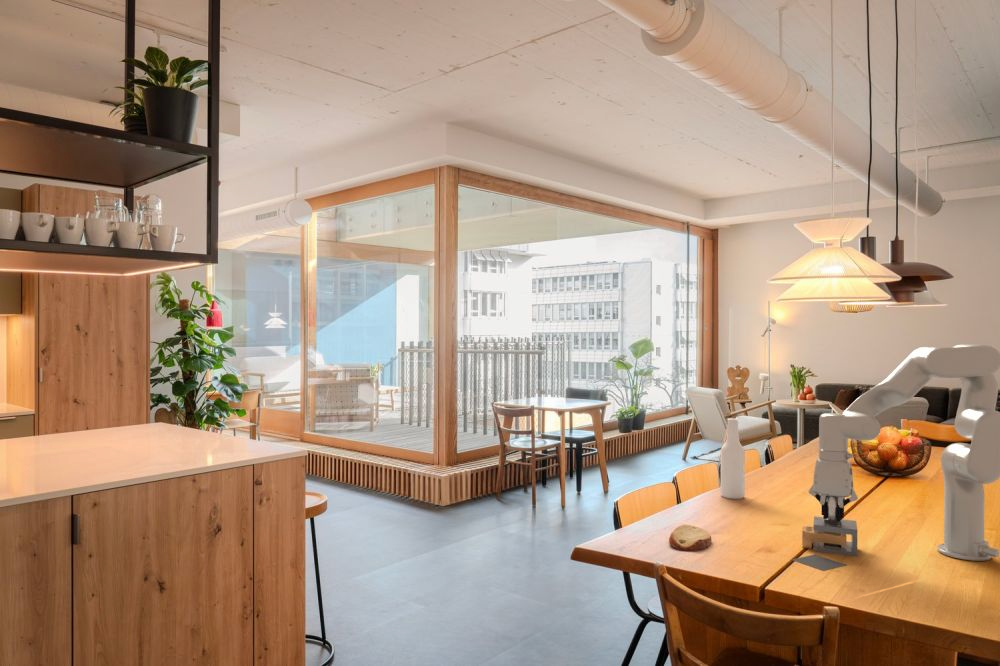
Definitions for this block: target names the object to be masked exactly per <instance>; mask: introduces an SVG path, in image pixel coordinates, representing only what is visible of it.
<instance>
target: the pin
mask: <svg viewBox="0 0 1000 666" xmlns="http://www.w3.org/2000/svg"><path fill="white" fill-rule="evenodd" d="M838 505H839V501H838V496H831V495H827V524H833V525H838V521H837V507H838Z"/></svg>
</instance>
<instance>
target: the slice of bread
mask: <svg viewBox="0 0 1000 666" xmlns="http://www.w3.org/2000/svg"><path fill="white" fill-rule="evenodd" d="M668 542H669V544H670V546H672V547H673V548H674V549H675V550H678V551H681V552H695V551H698V550H699V551H700V550H704V549H707V548H709V547H710V545H711V544H712V536H711V534H709V532H708V531H707V530H704V529H703V528H700V527H697V526H694V525H691V524H681V525H678V526H677V527H676V528H675V529H673V530H672V531H671V533H670V535H669V539H668Z"/></svg>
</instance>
